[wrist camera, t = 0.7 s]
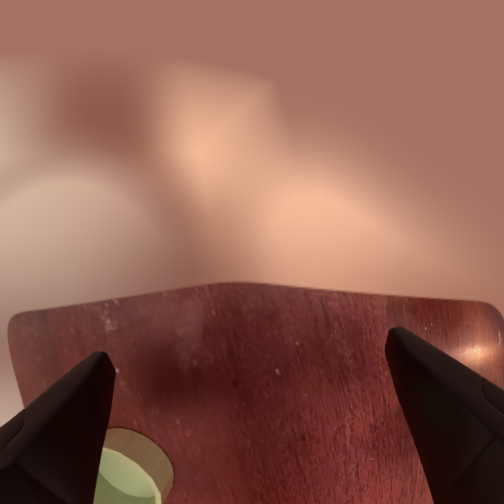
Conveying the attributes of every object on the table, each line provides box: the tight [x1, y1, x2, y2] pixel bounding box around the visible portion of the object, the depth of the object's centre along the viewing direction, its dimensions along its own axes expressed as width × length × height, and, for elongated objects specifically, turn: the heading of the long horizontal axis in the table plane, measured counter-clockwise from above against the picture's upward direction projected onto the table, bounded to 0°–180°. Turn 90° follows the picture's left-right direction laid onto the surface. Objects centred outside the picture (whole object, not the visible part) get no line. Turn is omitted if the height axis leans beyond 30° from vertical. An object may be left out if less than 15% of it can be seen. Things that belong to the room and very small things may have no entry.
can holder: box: [93, 428, 174, 504], centre depth 20 cm, size 9×9×4 cm
